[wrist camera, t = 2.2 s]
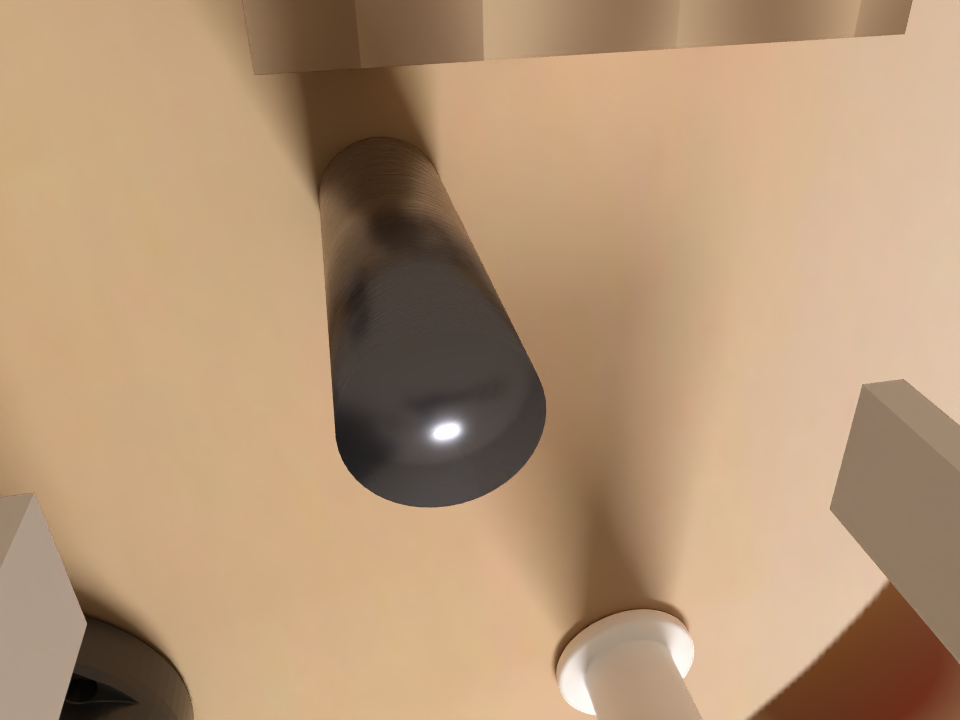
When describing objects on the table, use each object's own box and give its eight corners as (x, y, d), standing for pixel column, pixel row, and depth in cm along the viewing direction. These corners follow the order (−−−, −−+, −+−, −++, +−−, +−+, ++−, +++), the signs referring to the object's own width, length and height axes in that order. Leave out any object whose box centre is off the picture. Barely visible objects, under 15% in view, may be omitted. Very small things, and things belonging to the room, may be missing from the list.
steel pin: (327, 261, 27) (347, 520, 16) (311, 142, 25) (322, 344, 14) (445, 249, 27) (544, 491, 16) (439, 132, 25) (548, 318, 14)
